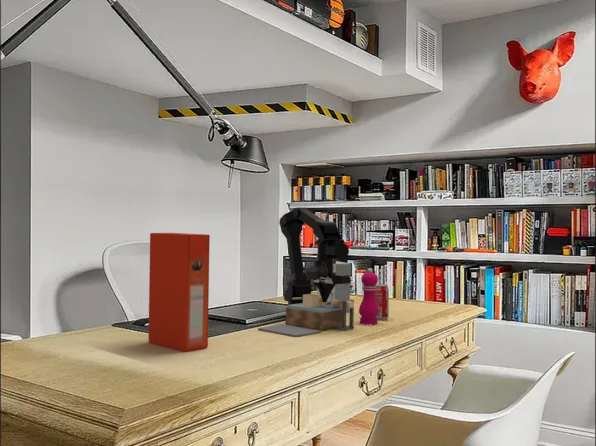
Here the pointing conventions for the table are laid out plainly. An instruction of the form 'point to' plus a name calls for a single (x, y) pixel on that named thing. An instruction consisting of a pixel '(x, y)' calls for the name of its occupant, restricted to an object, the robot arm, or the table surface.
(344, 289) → the hard drive box
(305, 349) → the table surface
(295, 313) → the open wooden box
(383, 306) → the soda can
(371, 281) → the pepper mill
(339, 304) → the tan wooden bar
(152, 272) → the file binder
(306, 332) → the felt pad
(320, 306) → the lid
